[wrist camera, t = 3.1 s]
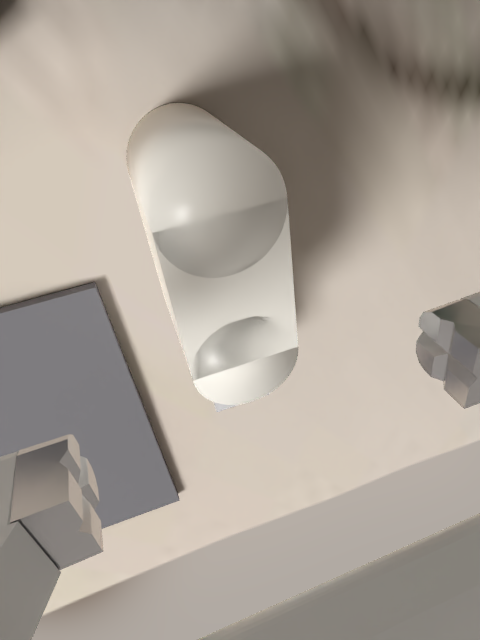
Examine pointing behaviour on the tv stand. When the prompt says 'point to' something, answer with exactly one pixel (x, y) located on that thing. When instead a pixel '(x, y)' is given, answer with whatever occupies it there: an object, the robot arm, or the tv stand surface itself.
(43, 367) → the mat
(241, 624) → the robot arm
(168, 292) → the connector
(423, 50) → the tv stand surface
